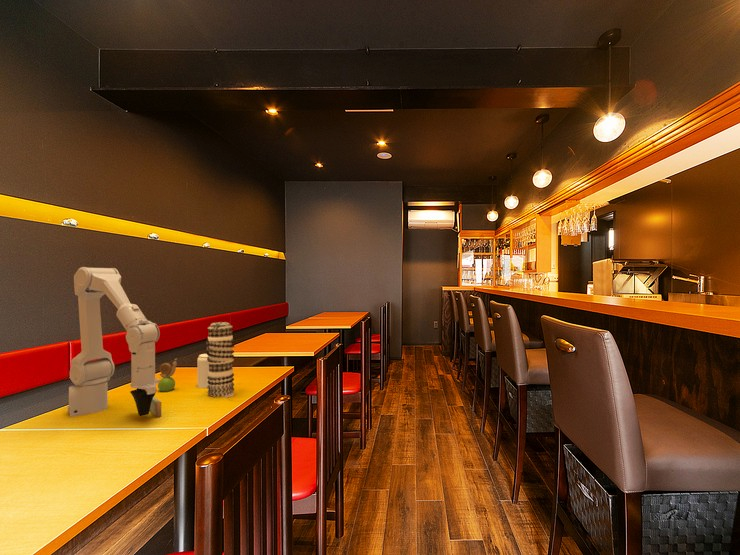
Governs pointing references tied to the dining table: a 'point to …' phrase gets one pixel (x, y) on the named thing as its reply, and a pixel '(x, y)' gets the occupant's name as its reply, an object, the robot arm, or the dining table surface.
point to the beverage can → (202, 371)
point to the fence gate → (156, 407)
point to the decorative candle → (220, 360)
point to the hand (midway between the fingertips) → (143, 414)
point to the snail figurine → (167, 377)
